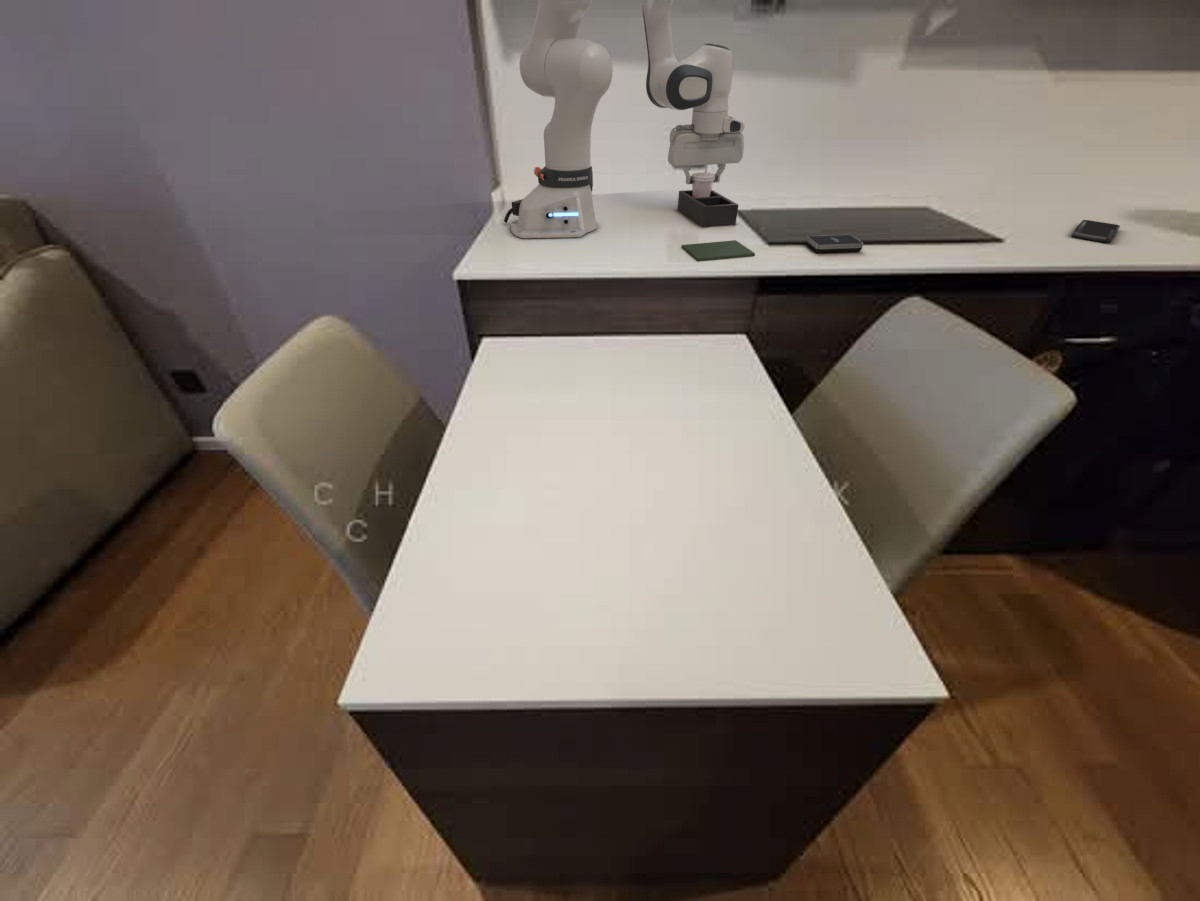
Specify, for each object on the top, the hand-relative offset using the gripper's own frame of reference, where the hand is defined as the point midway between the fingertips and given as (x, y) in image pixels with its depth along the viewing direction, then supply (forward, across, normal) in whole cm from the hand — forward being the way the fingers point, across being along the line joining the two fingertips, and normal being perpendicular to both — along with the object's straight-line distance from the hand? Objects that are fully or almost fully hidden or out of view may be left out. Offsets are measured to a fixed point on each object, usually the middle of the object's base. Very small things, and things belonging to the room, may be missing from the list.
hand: (702, 183), depth 144 cm
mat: (+8, -9, -32) cm, 34 cm away
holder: (+8, 0, -4) cm, 9 cm away
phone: (+8, +88, -44) cm, 99 cm away
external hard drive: (+8, +18, -37) cm, 42 cm away
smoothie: (+8, 0, 0) cm, 8 cm away
